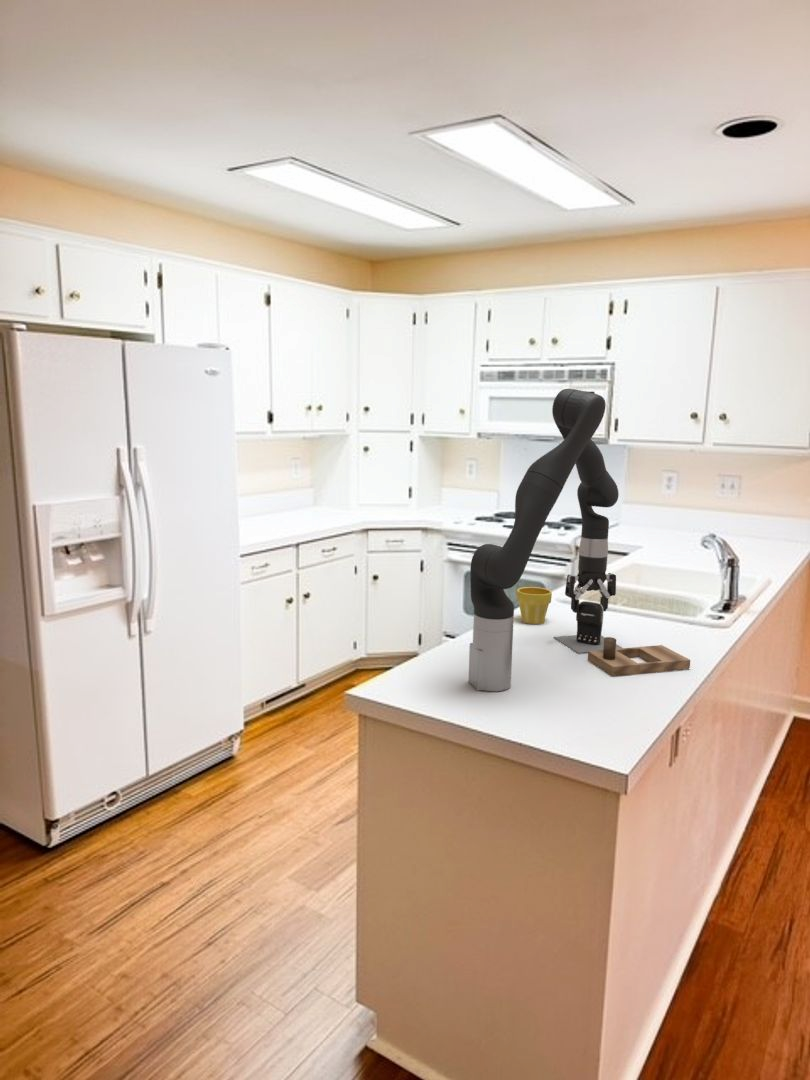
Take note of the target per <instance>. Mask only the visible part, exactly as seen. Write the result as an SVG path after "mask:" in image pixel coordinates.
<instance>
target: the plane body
mask: <svg viewBox="0 0 810 1080" xmlns="http://www.w3.org/2000/svg"><path fill="white" fill-rule="evenodd" d="M616 644H617V638H615V637H611V636H605V638H604V647H603V650H596V651H588V653H587V661H588V662H590V663H591V664H592V665H594V666H596V667H597V668H599V669H600V670H601V671H603V672H604V673H606V674H607V675H609V676H610V677H623V676H635V675H643V674H656V672H657V673H665V671H667V672H674V671H673V670H678V671H682V670H681V669H688V670H690V669H689V668H691V659H690V658H688V657H686V656H684V655H683V654H680V653H678V652H676V651H674V650H672V649H670V648H668V647H666V646H665V645H663V644H659V645H646V646H636V647H622V648H620V649H616ZM635 658H639V659H641V661H642V660H643V661H644V662H637V661H635V660H633V659H635Z"/></svg>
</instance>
